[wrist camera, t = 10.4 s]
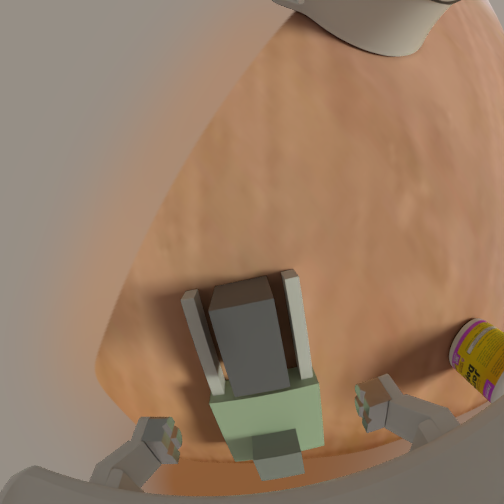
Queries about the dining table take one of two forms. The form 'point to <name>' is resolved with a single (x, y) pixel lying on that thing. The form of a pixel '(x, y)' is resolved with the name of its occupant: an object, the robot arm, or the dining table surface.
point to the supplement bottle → (480, 357)
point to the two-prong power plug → (264, 396)
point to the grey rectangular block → (249, 336)
